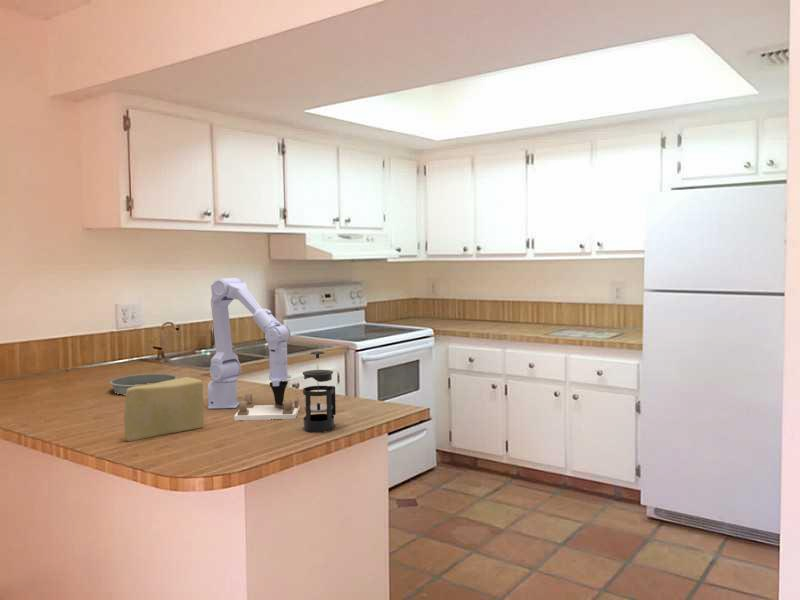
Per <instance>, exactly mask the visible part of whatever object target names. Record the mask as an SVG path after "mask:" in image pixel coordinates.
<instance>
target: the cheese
mask: <svg viewBox="0 0 800 600" xmlns="http://www.w3.org/2000/svg"><path fill="white" fill-rule="evenodd" d="M204 412H205V411H204V384H203V380H202V379H197V378H193V377H188V376H185V377H180V378H179V377H178V378H177V379H174V380H168V381H163V382H159V383H154V384H149V385H143V386H135V387H130V388H128V389H127V390H126V395H125V402H124V416H123V417H124V435H125V436H124V439H125V440H126V441H127V442H134V440H135V441H140V440H144V439H150V438H154V437H155V438H156V437H160V436H165V435H166V436H167V435H171V434H174V433H181V432H185V431H186V432H187V431H191V430H197V429H198V430H199V429H203V428H204V426H205V425H204V424H205V423H204V419H205V418H204V415H205V414H204Z"/></svg>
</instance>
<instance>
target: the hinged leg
mask: <svg viewBox="0 0 800 600" xmlns="http://www.w3.org/2000/svg"><path fill="white" fill-rule="evenodd" d="M273 405H274V407H277V408H280V409H284V403H283V404H276V403H275V402H274V404H273ZM292 409H293V410H294V407H293V405H292Z"/></svg>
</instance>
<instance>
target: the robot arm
mask: <svg viewBox="0 0 800 600" xmlns="http://www.w3.org/2000/svg"><path fill="white" fill-rule="evenodd" d="M210 289H211V290H210V291H211V299H210V306H211V307H210V309H211V315H212V317H211V318H212V327H213V334H214V335H213V336H214V346H215V347H214V348H215V354H214V355H212V357H211V358H210V366H209V375H210V377H211V379H212V380H209V382H208V386H207V402H208V404H207V405H208V406H207V409H208V410H209V409H210V410H211V409H236V408H238V407H239V402H240V401H238V380H239V376H240V375H241V372H242V365H241V363H240V361H239V356H238V354H236V353H235V352H234V351H233V343H232V341H233V340H232V333H231V324H230V323H231V322H230V314H229V313H230V312H229V305H230V304H231V303H232V302H233V301H234V300H238V301H239V302H240V303H241V304H243V306H244V308H246V309H247V310H248V311H249V312H250V313H251V314H252V315H253V321H254V322H255V324H256V325H257V327H259V329H260V330H261V331H262V332H263V333H264V334H265V335H264V339H265V341H266V343H267V348H268V350H269V351H268V352H269V357H268V358H269V362H268V363H269V376H268V379H269V380H271V382H269V387H270V388H271V390H272V392H273V399H274V404H275V403H276V404H284V400H285V391H286V388H287V385H288V384H289V382H288V381H287V379H292V375H291V374H290V375H289V374H288V371H289V370H288V341H289V340H290V338H291V331H290V329H289V327H288V326H287V325H286V324H282V323H281V322H280V321H279V320H278V319H276V318H275V317H274V315H273V314H272V311H271V310H270V309H267V308H262V306H260V304H259V303H258V301H257V300H256V298H255V297H254V296H253V294H251V293H252V292H250V290H249V289H248V284H247V283H245V281H244V280H243V279H242V278H241V277H227V278H220V277H219V278H217V279H215V280H214V282H213V283H212V284H211V285H210Z"/></svg>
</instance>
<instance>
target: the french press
mask: <svg viewBox="0 0 800 600" xmlns="http://www.w3.org/2000/svg"><path fill="white" fill-rule="evenodd" d="M310 354H311V355H315V359H316V369H310V370H305V371H303V372H302V375H303V379H304V380H306V379H310V378H312V379H314V380H315V381H316V383H317V385H312V386H311V385H310V386H306V387H303V388H302V394H303V396H305V406H304V407H303V409H304V411H305V416H304V417H303V427H302V429H303V431H304V430H305V431H304V432H306V431H310V432H309V433H312V432H321V433H324V432H323V431H328V432H330V431H329V430H331V431H333V430H332V429H334V428H336V425H335V415H336V412H337V411H336V409H337V408H336V405H337V404H336V386H334V385H329V386H328V385H319V384H320V383H324V382H330V381H331V380H332V379H333V377H332V376H333V374H334V371H333V370H330V369H319V359H320V355H323V354H325V352H324V351H322V350H316V351H311V352H310ZM319 382H320V383H319ZM322 396H323V397H324V396H325V397H326V403H320V397H322ZM311 397H317V403H315V404H311ZM312 413H313V414H312ZM314 413H315V414H314ZM334 430H335V429H334Z"/></svg>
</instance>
